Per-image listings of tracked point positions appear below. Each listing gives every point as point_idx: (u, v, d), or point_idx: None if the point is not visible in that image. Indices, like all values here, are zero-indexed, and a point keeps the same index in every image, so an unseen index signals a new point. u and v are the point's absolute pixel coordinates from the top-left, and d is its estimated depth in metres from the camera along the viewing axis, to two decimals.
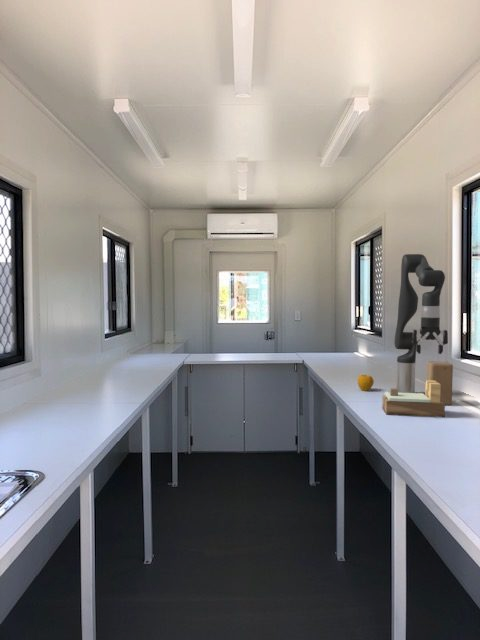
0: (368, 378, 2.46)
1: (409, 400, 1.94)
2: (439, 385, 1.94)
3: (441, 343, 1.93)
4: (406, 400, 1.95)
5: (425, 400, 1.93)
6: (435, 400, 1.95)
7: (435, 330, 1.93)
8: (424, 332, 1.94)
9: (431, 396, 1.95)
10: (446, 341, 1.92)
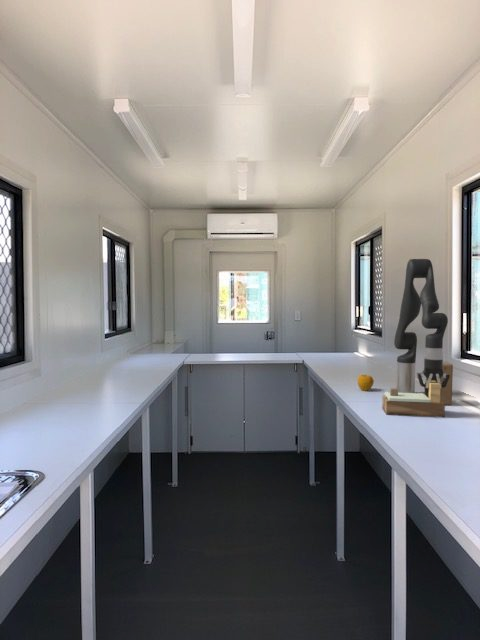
0: (368, 378, 2.46)
1: (409, 400, 1.94)
2: (439, 385, 1.94)
3: None
4: (406, 400, 1.95)
5: (425, 400, 1.93)
6: (435, 400, 1.95)
7: (438, 371, 1.97)
8: (427, 374, 1.98)
9: (431, 396, 1.95)
10: (444, 384, 1.97)
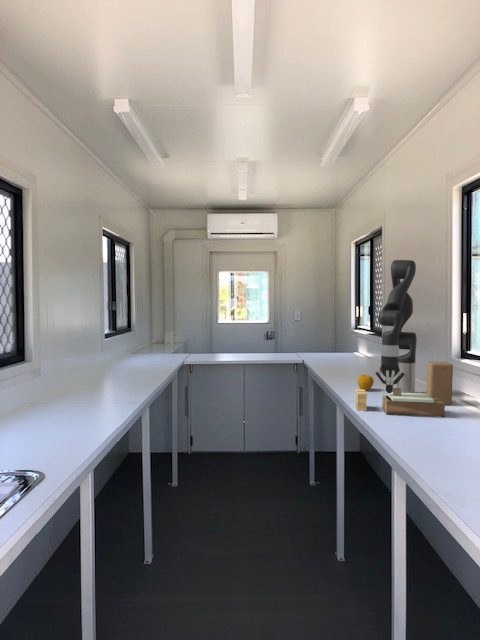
0: (368, 378, 2.46)
1: (412, 400, 1.94)
2: (365, 394, 2.03)
3: (391, 383, 2.00)
4: (409, 400, 1.94)
5: (428, 400, 1.93)
6: (362, 409, 2.04)
7: (394, 368, 2.00)
8: (384, 372, 2.01)
9: (358, 405, 2.04)
10: (396, 381, 2.00)
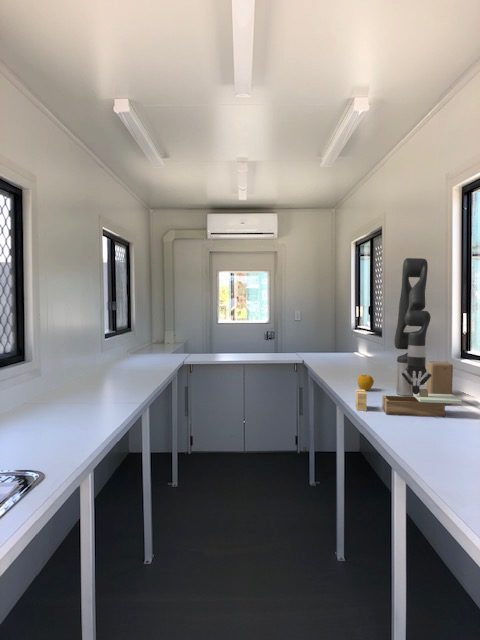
0: (368, 378, 2.46)
1: (440, 401, 1.92)
2: (365, 394, 2.03)
3: (418, 384, 1.99)
4: (437, 401, 1.93)
5: (456, 401, 1.91)
6: (362, 409, 2.04)
7: (421, 369, 1.98)
8: (411, 373, 1.99)
9: (358, 405, 2.04)
10: (422, 382, 1.98)
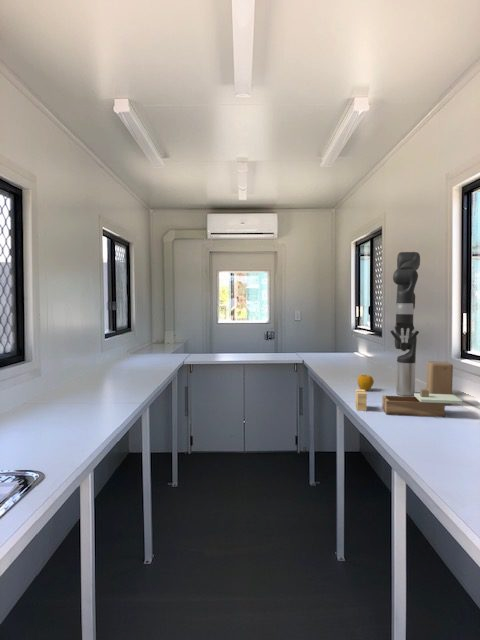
0: (368, 378, 2.46)
1: (441, 401, 1.92)
2: (365, 394, 2.03)
3: (406, 341, 2.04)
4: (438, 401, 1.92)
5: (457, 401, 1.91)
6: (362, 409, 2.04)
7: (409, 326, 2.04)
8: (399, 330, 2.05)
9: (358, 405, 2.04)
10: (410, 339, 2.04)
